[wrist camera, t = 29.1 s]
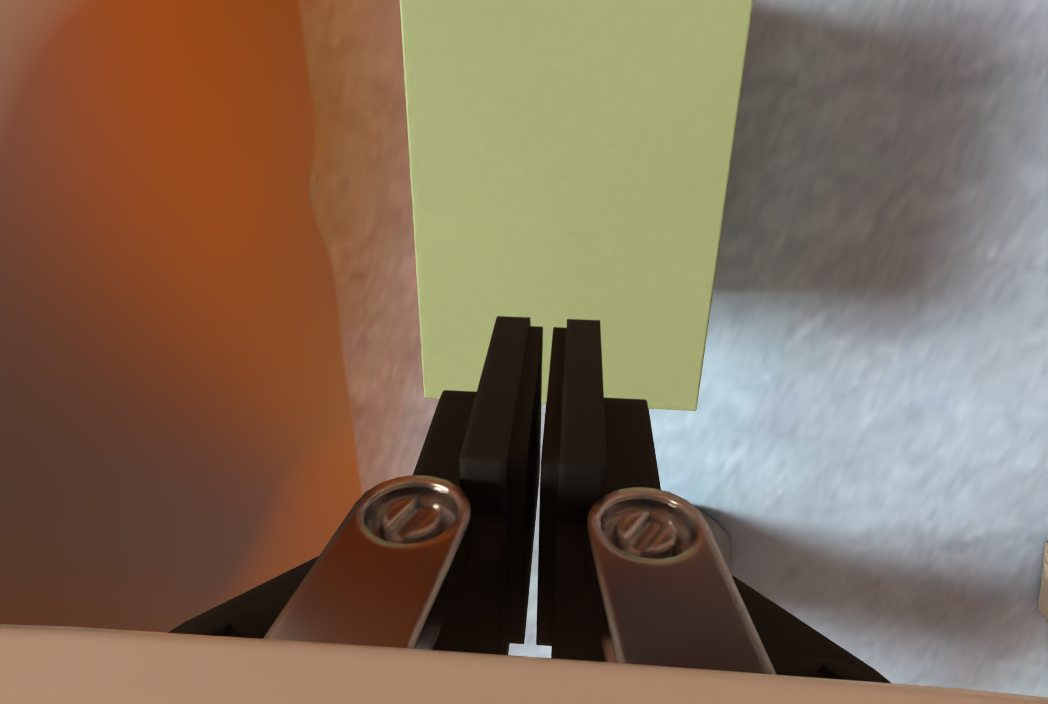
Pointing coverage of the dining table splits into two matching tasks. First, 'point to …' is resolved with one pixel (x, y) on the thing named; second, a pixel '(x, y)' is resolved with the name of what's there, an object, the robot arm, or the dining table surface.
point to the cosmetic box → (1044, 585)
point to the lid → (571, 178)
